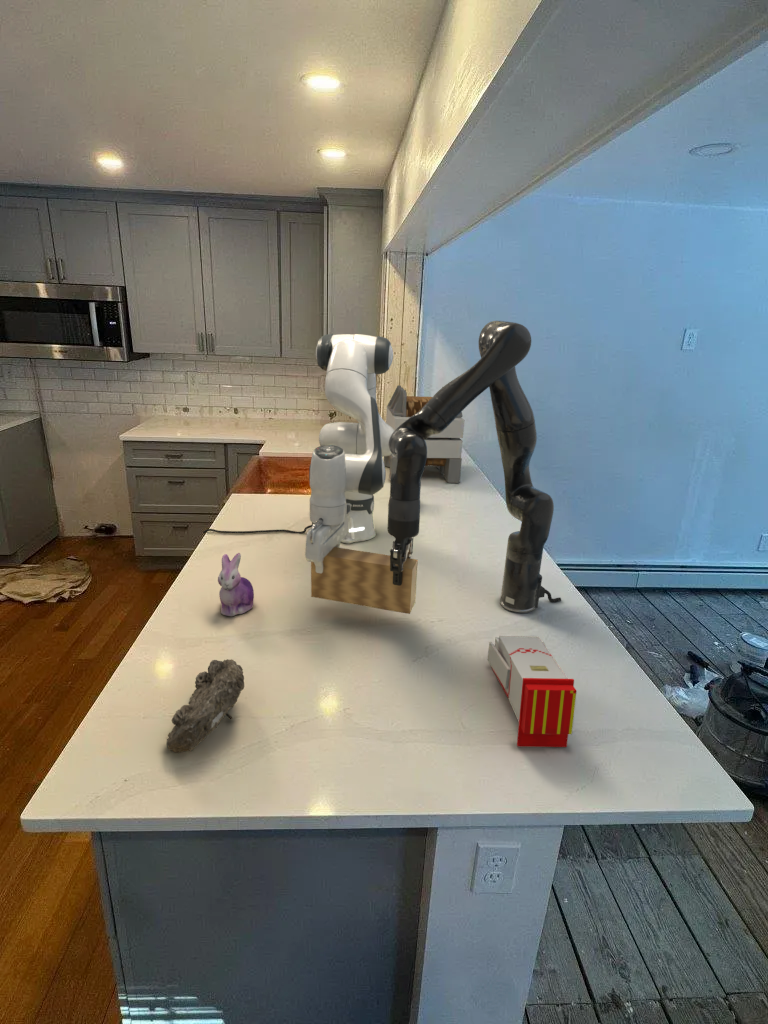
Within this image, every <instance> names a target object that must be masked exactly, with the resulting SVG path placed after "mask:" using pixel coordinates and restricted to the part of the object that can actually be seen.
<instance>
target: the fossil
mask: <svg viewBox="0 0 768 1024" xmlns="http://www.w3.org/2000/svg"><path fill="white" fill-rule="evenodd" d="M243 670H244V669H243V667H242V665H240V664H237V662H236V661H235V660H234V659H232V658H231V659H227V658H226V659H224V660H223V661H222V660H217V659H212V660H211V661H210V663H209V665H208V666H207V671H201V672H199V673H198V674H197V675H196V676H195V680H194V684H195V685H194V687H195V689H194V690H193V693H192V694H191V697H190V698H189V700H188V704H184V705H182V706H181V707H180V709H177V710H176V711H175V713H174V715H173V716H172V718H171V723H172V724H173V727H172V730H171V731H170V732H168V734H167V738H166V741H167V742H166V745H167V749H168V750H169V751H173V752H174V753H176V754H178V753H182V752H188V751H189V752H192V751H193V750H195V748H196V747H197V746H199V744H200V743H201V742H203V741H204V740H205V739H206V738H207V737H208V736H209V735H210V734H211V733H212V732H214V730H215V729H217V727H218V726H219V724H220V722H221V721H222V720H223V719H224V718H225V716H226V717H227V719H229V720H233V717H232V715H230V714H229V710H230V709H231V708H234V706H235V704H236V703H237V702H238V699H239V697H240V695H241V693H242V691H243V690H245V689H244V688H245V675H244V671H243Z"/></svg>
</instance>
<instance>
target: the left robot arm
mask: <svg viewBox="0 0 768 1024" xmlns="http://www.w3.org/2000/svg"><path fill="white" fill-rule="evenodd" d="M315 358H316V362H317V365H318V367H319V368H320V369H321V370H323V371H325V378H324V379H325V380H324V396H325V398H326V400H327V402H328V403H329V405H330V406H331V407H332V408H334V409H335V410H336V411H338V412H339V413H341V414H343V415H345V416H348V417H350V418H352V419H354V420H356V421H357V422H348V421H335V422H330V423H325V424H324V425H323V426H322V427H321V429H320V431H319V434H318V442H319V446H317V447H315V448H314V450H312V454H311V460H310V463H309V468H308V469H309V471H308V472H309V473H308V480H309V487H310V496H309V521H310V522H311V524H310V525H307V526H305V527H304V528H303V530H302V531H294V530H290V529H264V530H263V529H262V530H260V529H259V530H240V531H239V530H218V529H214V528H207V529H205V530H204V531H202V533H203V534H206V533H208V532H213V533H218V534H259V533H261V534H262V533H291V534H299V535H300V534H301V535H302V534H303V535H304V534H305V533H306V537H305V548H304V549H305V551H304V556H305V557H304V558H305V560H306V561H307V562H310V563H311V562H314V564H315V566H316V572H317V573H323V571H324V570H325V569H324V568H325V565H323V560H324V557H325V556H326V555H327V554H328V553H329V552H330V551H331V550H332V549H333V548H334V547H338V548H340V545H341V543H343V544H352V543H357V542H365V541H368V540H372V539H373V538H375V537H376V535H377V532H376V528H375V523H374V513H373V512H374V509H375V496H374V495H375V494H377V493H378V492H380V491H381V490H382V489H383V488H384V485H385V483H386V476H387V473H386V466H384V456H390V455H391V454H392V453H391V451H390V449H389V439H390V437H391V435H392V433H393V432H394V429H393V428H392V427H391V426H389V425H388V424H387V423H386V420H384V419H383V418H382V416H381V414H380V412H379V408H378V403H377V375H382V374H386V373H387V372H388V371H389V370H390V367H391V365H392V364H393V361H394V350H393V347H392V343H391V341H390V340H389V338H387V337H384V336H380V335H377V336H374V335H369V334H363V333H361V334H360V333H354V334H352V333H351V334H349V333H344V334H341V333H340V334H334V333H328V334H324V335H322V336H321V337H320V338H319V339H318V341H317V344H316V347H315ZM307 530H308V531H307Z"/></svg>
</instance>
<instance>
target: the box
mask: <svg viewBox="0 0 768 1024" xmlns="http://www.w3.org/2000/svg"><path fill="white" fill-rule="evenodd" d="M403 558H404V557H402V559H403ZM323 565H325V568H324V569H325V570H324V571H323V573H317V572H316V566H315V564H314V562H311V561H310V597H312V598H318V599H321V600H328V601H333V602H338V603H339V602H340V603H345V604H351V605H355V606H356V605H357V606H362V607H368V608H373V609H378V610H379V609H380V610H383V611H384V610H385V611H391V612H396V613H402V614H408V615H410V614H411V612H412V610H413V609H414V607H415V604H416V598H417V597H416V595H417V581H418V580H417V579H418V565H419V559H415V558H407V561H406V562H405V563H404V567H403V576H402V584H401V586H398V585H394V584H393V571H390V554H382V553H376V552H371V551H364V550H357V549H351V548H345V547H344V548H343V547H339V548H338V547H334V548H333V549H332V550H331V551H330V552H329V553H328V554H327V555H326V556H325V557H324V560H323ZM396 566H398V564H396Z"/></svg>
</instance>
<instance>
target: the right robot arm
mask: <svg viewBox="0 0 768 1024" xmlns="http://www.w3.org/2000/svg"><path fill="white" fill-rule="evenodd" d="M531 347H532V336H531V332H530V330H529V329H528V328H527V327H526V326H524V325H523V324H521V323H519V322H513V321H507V320H506V321H505V320H492V321H488V323H486V324H485V325H484V326H483V328H482V329H481V331H480V333H479V336H478V352H479V356H480V359H479V360H478V361H477V362H476V363H475V364H474V365H472V366H471V367H469V369H467V370H465V371H464V372H463V373H461V374H460V375H458V376H457V377H455V378H454V379H452V380H450V381H448V383H446V384H444V386H442V387H441V388H440V389H438V391H437V392H436V393H435V394H433V396H431V397H432V398H431V399H430V400H429V401H428V402H427V403H426V404H425V405H424V407H423V408H422V409H421V410H420V411H419V412H418V413H416V414H415V415H413V416H412V417H410V418H409V419H408V420H406V421H405V422H404V423H402V424H401V425H400V426H399V427H398V428H397V429H396V430H395V431H394V432H393V433H392V435H391V437H390V439H389V449H390V451H391V453H392V454H393V455H394V456H396V457H397V467H396V471H395V472H394V473H393V474H392V476H391V480H390V484H389V485H390V486H389V500H388V506H387V507H388V508H387V529H386V530H387V534H389V535H390V536H391V537H393V538H394V540H393V541H392V544H391V545H392V546H391V547H392V548H391V549H390V550H389V555H390V571H393V584H394V585H398V586H401V584H402V576H403V567H404V563H405V562H406V561H407V558H410V559H412V558H411V557H412V556H411V555H412V554H413V552H414V551H413V547H414V539H415V537H416V536H418V535H419V533H420V522H421V521H420V519H421V489H422V488H421V487H422V477H423V474H424V471H425V467H426V466H425V463H426V459H427V445H426V442H425V440H426V439H427V438H428V437H429V436H431V435H432V434H439V433H441V432H442V431H443V430H445V429H446V428H447V426H449V424H450V423H451V422H452V421H453V420H454V419H455V418H456V417H457V416H458V415H459V414H460V413H461V412H462V413H463V411H464V410H465V409H466V408H467V407H468V406H470V404H472V402H473V401H474V400H475V399H477V397H479V396H480V395H482V393H484V392H485V391H486V390H487V389H489V393H490V400H491V406H492V412H493V417H494V421H495V422H494V424H495V431H496V435H497V441H498V446H499V450H500V456H501V463H502V470H503V476H504V493H505V494H504V495H505V504H506V508H507V511H508V513H509V514H510V515H511V516H512V517H513V518H514V519H516V520H518V521H519V522H521V524H520V528H519V530H518V531H514V532H511V533H510V534H509V535H508V538H507V545H506V546H507V547H506V554H505V560H504V569H503V577H502V585H501V592H500V598H499V604H500V606H501V607H502V608H504V609H505V610H507V611H509V612H513V613H517V614H527V613H531V612H533V611H534V610H535V609H538V607H539V601H540V599H541V598H545V595H547V599H548V601H549V602H550V603H557V602H561V601H562V598H561V597H556V598H553V597H552V593H551V592H550V591H549V590H547V589H546V588H545V587H544V586H543V585H542V581H543V576H542V574H540V573H541V567H542V561H543V555H544V554H543V553H544V547H545V544H546V543H547V540H548V539H549V535H550V530H551V526H552V523H553V517H554V508H555V506H554V500H553V498H552V496H551V495H550V494H548V493H547V492H544V491H543V490H540V489H538V488H537V487H534V485H533V481H532V478H531V471H530V463H531V460H532V457H533V454H534V452H535V449H536V446H537V442H538V441H537V440H538V435H537V427H536V419H535V415H534V411H533V408H532V406H531V404H530V401H529V399H528V398H527V395H526V394H525V392H524V390H523V388H522V385H521V384H520V381H519V379H518V375H517V371H516V366H518V365H519V364H520V363H521V362H523V360H524V359H525V358H526V357H527V356H528V354H529V352H530V350H531ZM402 557H404V558H403V559H402ZM396 564H398V566H396Z"/></svg>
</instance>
